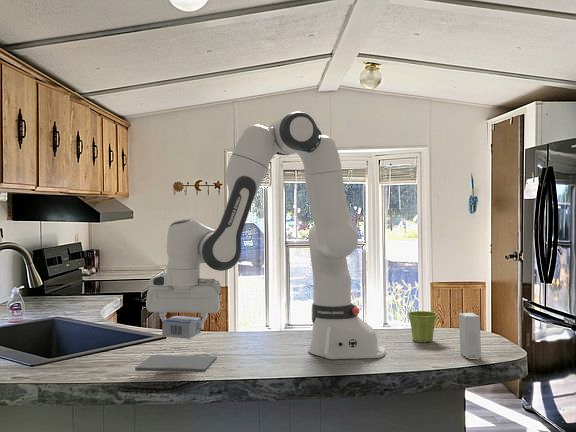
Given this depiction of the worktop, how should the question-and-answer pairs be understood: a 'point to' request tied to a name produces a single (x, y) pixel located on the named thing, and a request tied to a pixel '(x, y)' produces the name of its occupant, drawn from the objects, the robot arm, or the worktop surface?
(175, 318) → the medicine box
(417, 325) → the plant pot
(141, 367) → the mat
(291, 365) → the worktop surface
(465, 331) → the skincare box
